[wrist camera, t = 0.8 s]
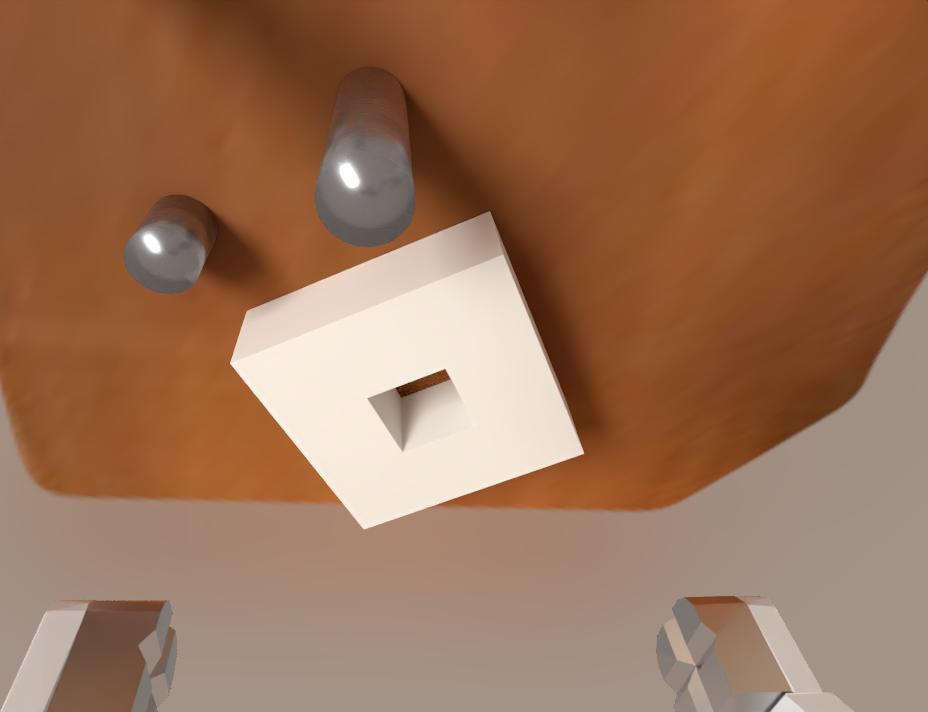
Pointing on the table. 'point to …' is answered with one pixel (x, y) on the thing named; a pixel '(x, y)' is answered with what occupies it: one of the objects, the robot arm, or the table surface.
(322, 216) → the long pin
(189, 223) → the short pin
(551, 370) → the hole block
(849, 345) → the table surface
